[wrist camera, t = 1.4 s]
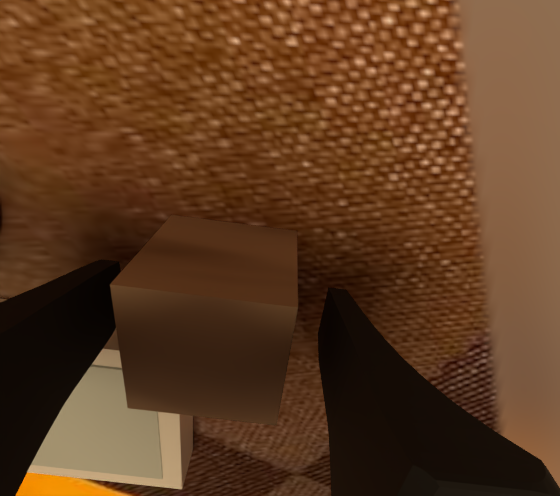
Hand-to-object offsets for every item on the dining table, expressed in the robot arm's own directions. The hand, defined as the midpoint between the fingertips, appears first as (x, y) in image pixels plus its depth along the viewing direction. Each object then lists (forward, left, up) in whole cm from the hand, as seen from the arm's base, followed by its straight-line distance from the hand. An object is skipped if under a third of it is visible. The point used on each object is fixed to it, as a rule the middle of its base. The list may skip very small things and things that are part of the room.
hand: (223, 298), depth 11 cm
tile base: (-7, +6, -2) cm, 9 cm away
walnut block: (0, 0, -2) cm, 2 cm away
